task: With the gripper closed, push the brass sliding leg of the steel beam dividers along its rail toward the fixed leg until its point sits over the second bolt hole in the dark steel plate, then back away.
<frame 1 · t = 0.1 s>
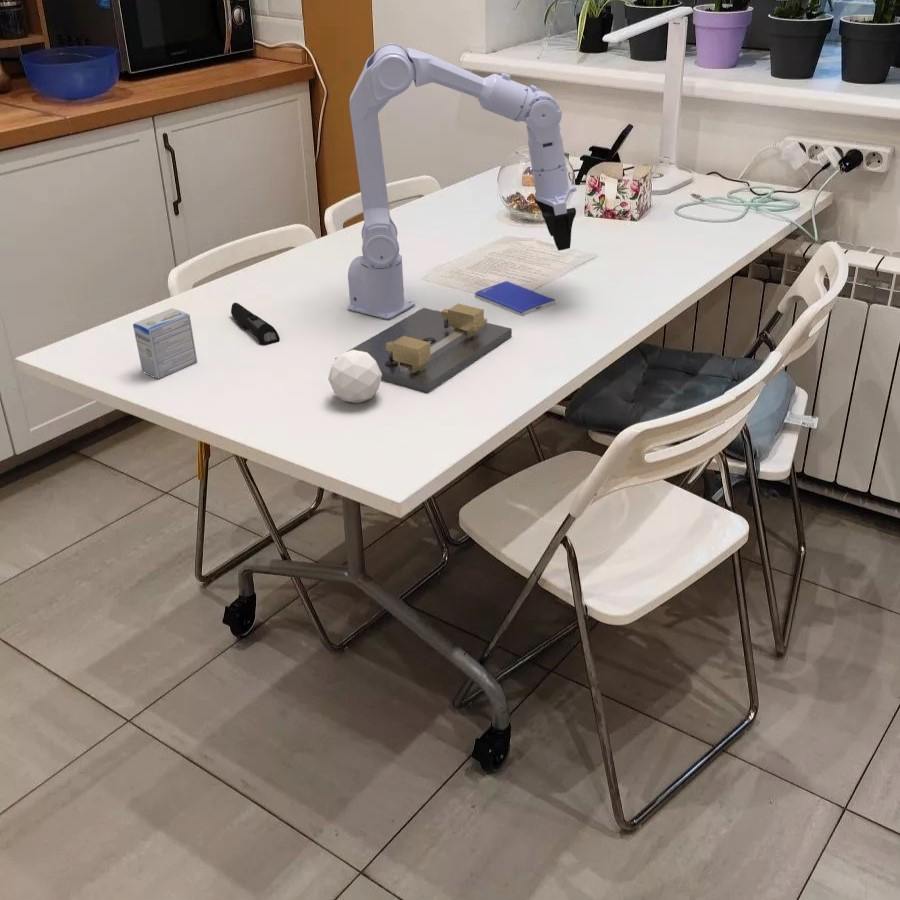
hand: (560, 241, 182), 10 cm above the table, tool pointing down, fingers open, 7 cm apart
sliding leg: (461, 320, 170), point 4 cm above the table, slide at 5.0 cm
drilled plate: (425, 351, 169), on the table
hard drive: (514, 304, 188), on the table
ball: (357, 400, 156), on the table
electric trimmer: (253, 332, 180), on the table
medicine box: (170, 369, 167), on the table
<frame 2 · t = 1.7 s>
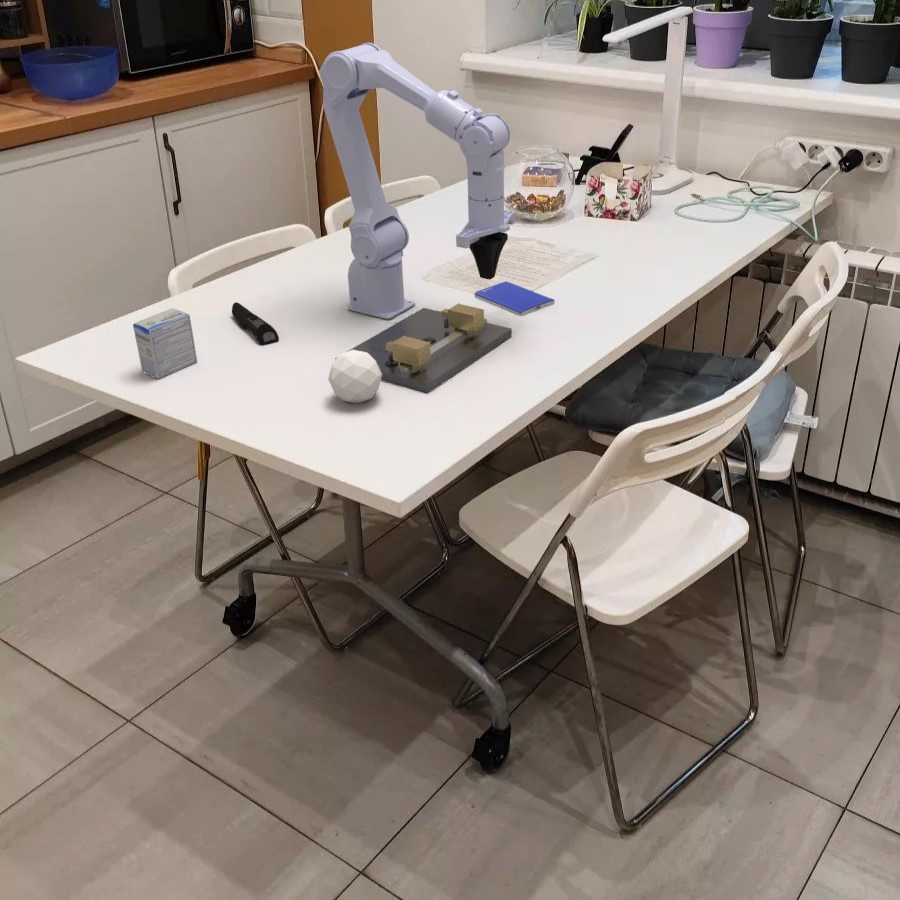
hand: (487, 277, 172), 9 cm above the table, tool pointing down, fingers closed
nothing on the table moved.
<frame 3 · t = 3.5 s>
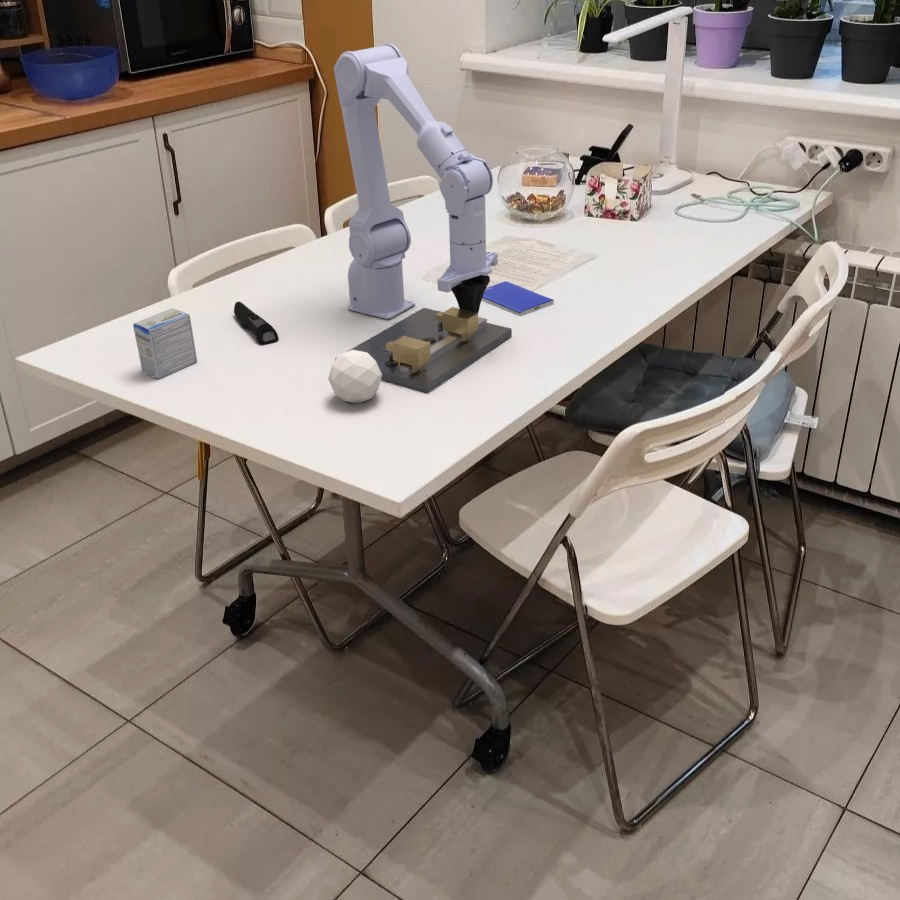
hand: (469, 319, 170), 4 cm above the table, tool pointing down, fingers closed
sliding leg: (455, 323, 169), point 4 cm above the table, slide at 3.3 cm, touching gripper
everything else where it was.
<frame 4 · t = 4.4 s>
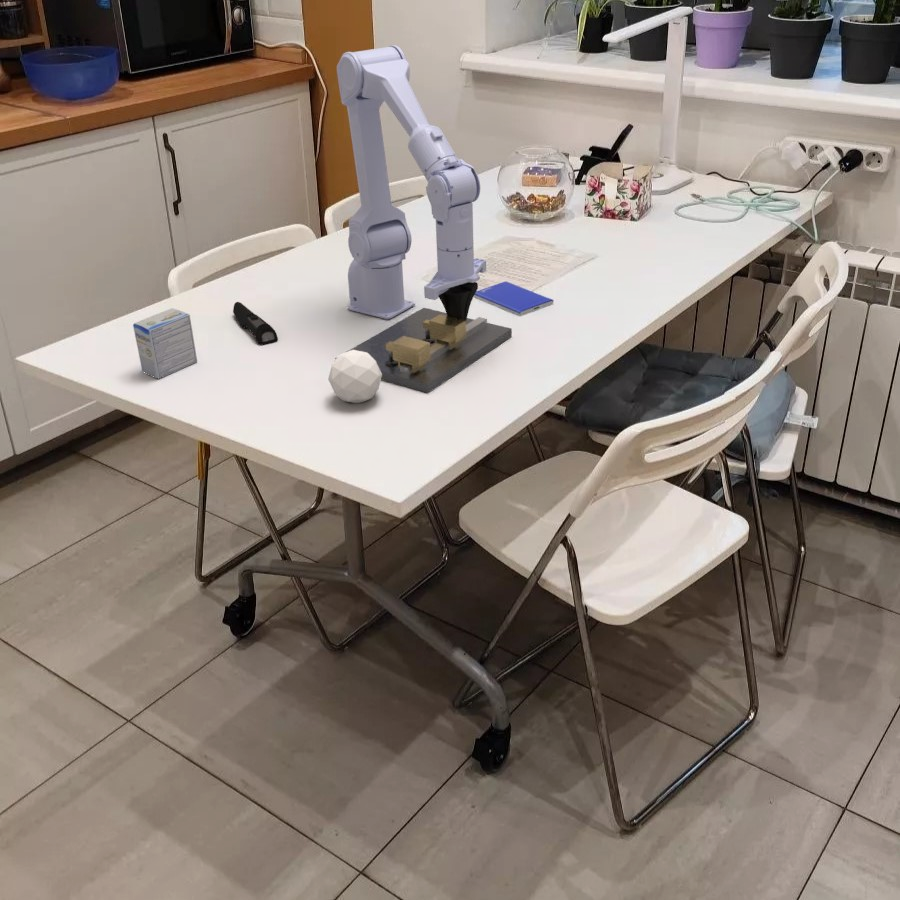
hand: (457, 326, 168), 4 cm above the table, tool pointing down, fingers closed
sliding leg: (442, 331, 166), point 4 cm above the table, slide at -0.2 cm, touching gripper
everything else where it was.
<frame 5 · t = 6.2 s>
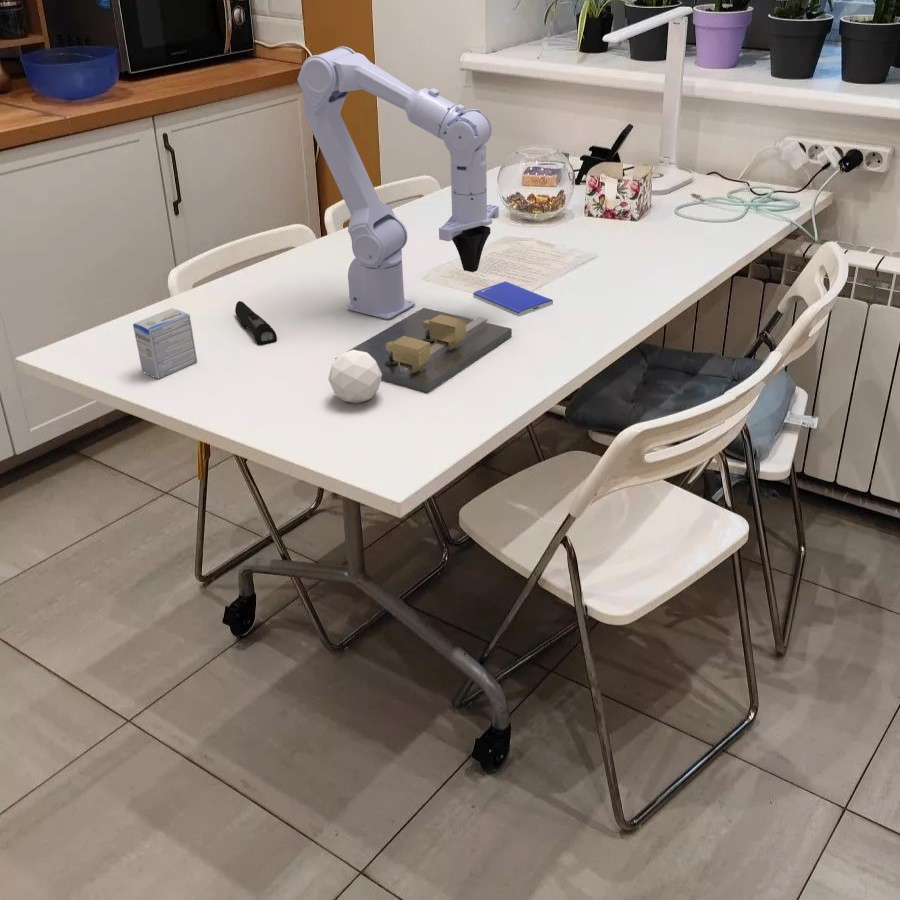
hand: (470, 270, 175), 9 cm above the table, tool pointing down, fingers closed
sliding leg: (442, 331, 166), point 4 cm above the table, slide at -0.2 cm
everything else where it was.
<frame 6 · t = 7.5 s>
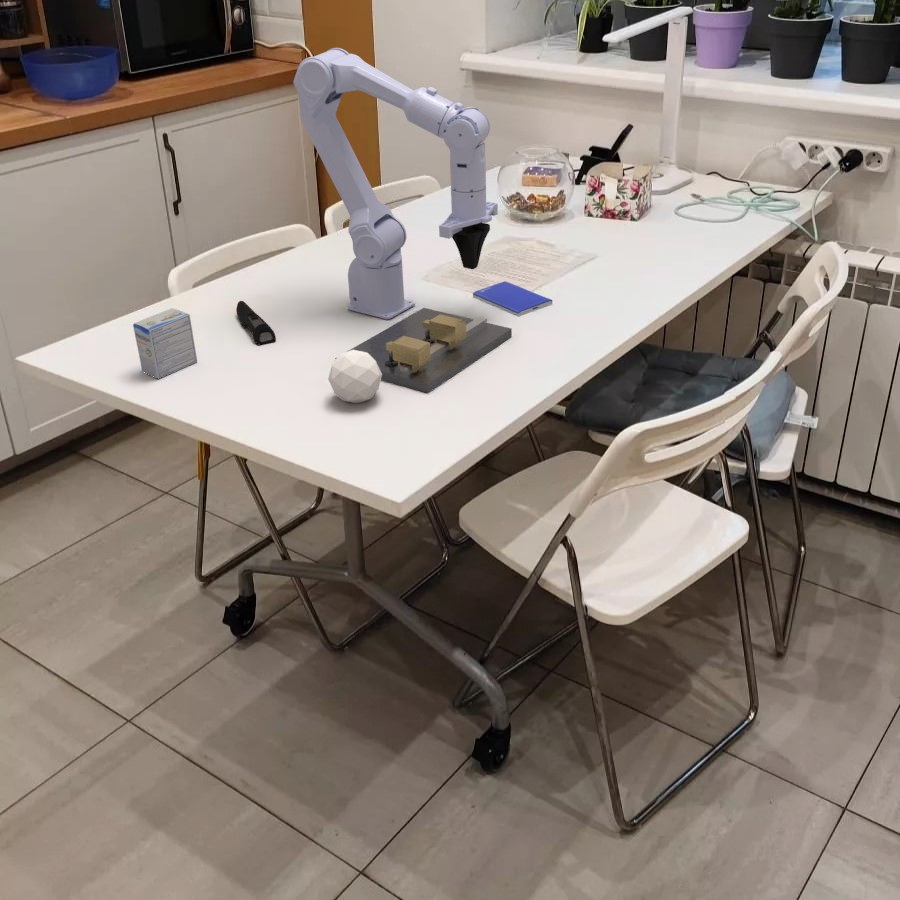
hand: (470, 267, 176), 9 cm above the table, tool pointing down, fingers closed
nothing on the table moved.
at the end: sliding leg slide at -0.2 cm; ball moved 0.2 cm from its start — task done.
